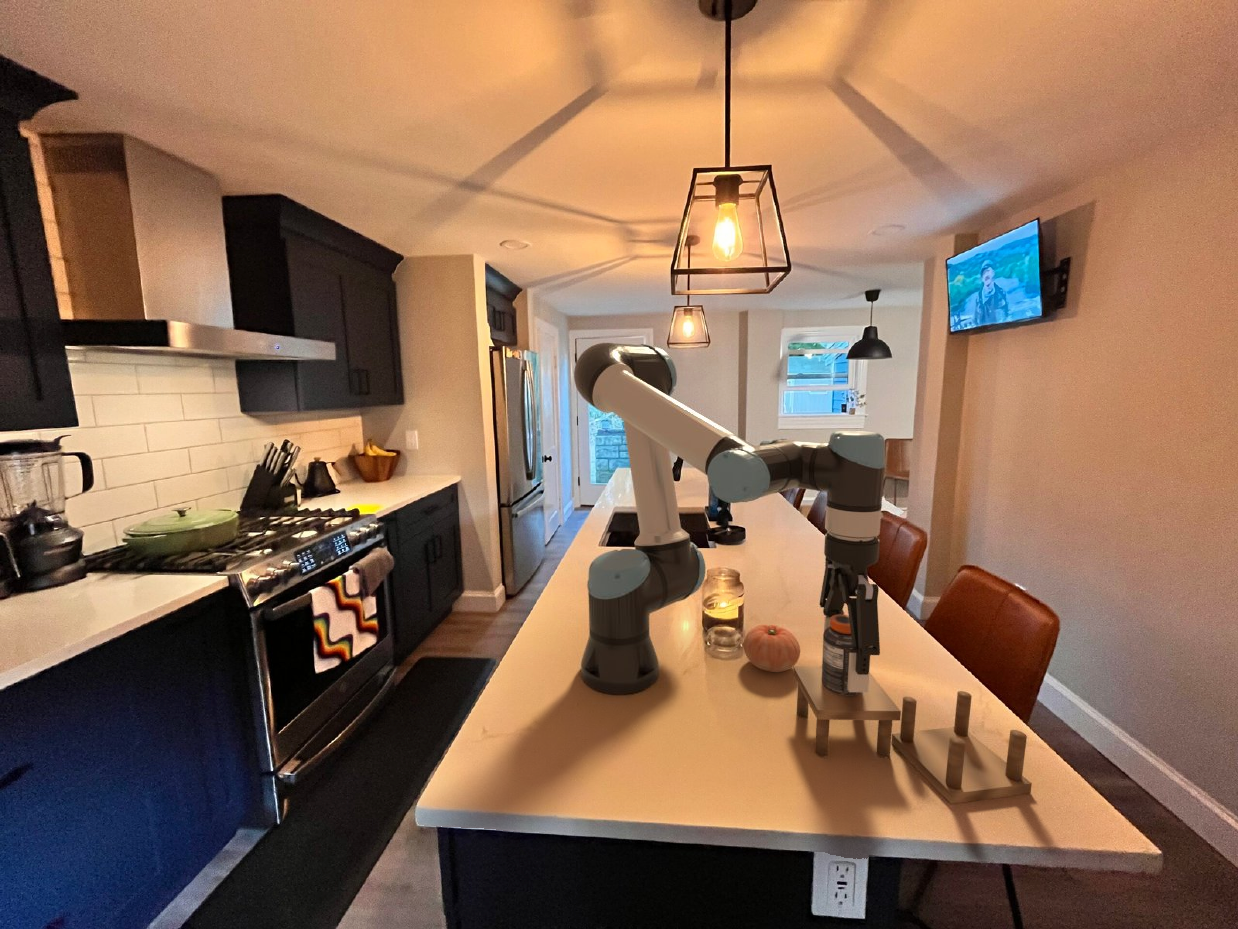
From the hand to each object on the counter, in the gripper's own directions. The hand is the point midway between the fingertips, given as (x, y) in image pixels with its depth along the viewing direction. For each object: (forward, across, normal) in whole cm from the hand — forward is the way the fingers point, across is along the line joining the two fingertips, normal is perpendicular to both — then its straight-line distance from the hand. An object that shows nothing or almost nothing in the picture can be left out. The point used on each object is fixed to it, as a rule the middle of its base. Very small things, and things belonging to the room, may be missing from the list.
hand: (843, 671), depth 81 cm
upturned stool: (+11, -7, -14) cm, 19 cm away
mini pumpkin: (+11, +20, +6) cm, 24 cm away
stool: (+11, 0, 0) cm, 11 cm away
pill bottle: (+3, 0, 0) cm, 3 cm away
